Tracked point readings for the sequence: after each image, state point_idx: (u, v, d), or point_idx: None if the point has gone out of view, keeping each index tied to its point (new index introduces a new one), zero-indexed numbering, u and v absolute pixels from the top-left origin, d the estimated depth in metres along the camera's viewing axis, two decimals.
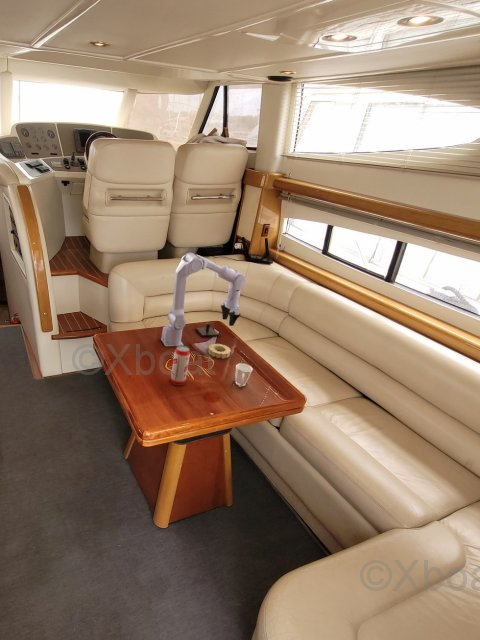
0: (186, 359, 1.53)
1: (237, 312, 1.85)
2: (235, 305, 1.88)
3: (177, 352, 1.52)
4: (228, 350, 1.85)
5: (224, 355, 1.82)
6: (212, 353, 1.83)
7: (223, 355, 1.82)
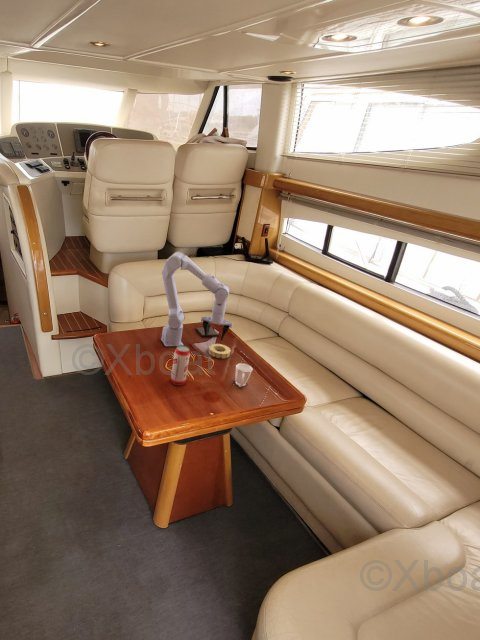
0: (186, 359, 1.53)
1: None
2: (223, 318, 1.79)
3: (177, 352, 1.52)
4: (228, 350, 1.85)
5: (224, 355, 1.82)
6: (212, 353, 1.83)
7: (223, 355, 1.82)
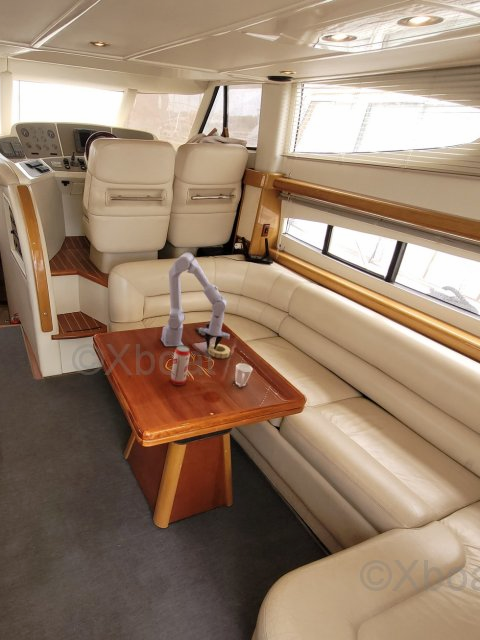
0: (186, 359, 1.53)
1: (229, 336, 1.81)
2: (220, 330, 1.82)
3: (177, 352, 1.52)
4: (228, 350, 1.85)
5: (224, 355, 1.82)
6: (212, 353, 1.83)
7: (223, 355, 1.82)
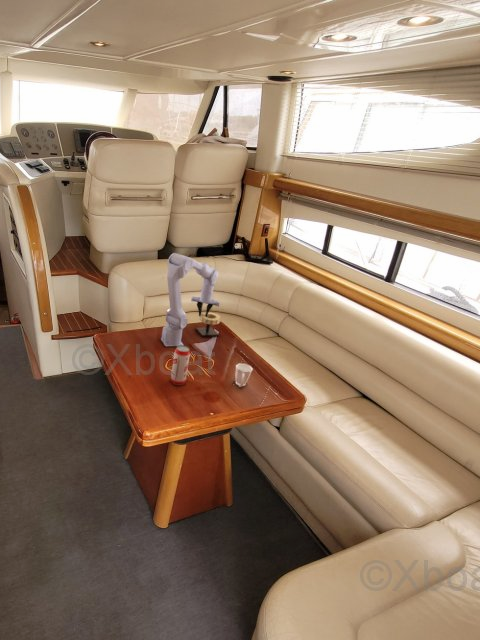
0: (186, 359, 1.53)
1: (219, 304, 1.95)
2: (211, 298, 1.96)
3: (177, 352, 1.52)
4: (218, 317, 1.99)
5: (214, 321, 1.96)
6: (203, 320, 1.97)
7: (213, 321, 1.96)
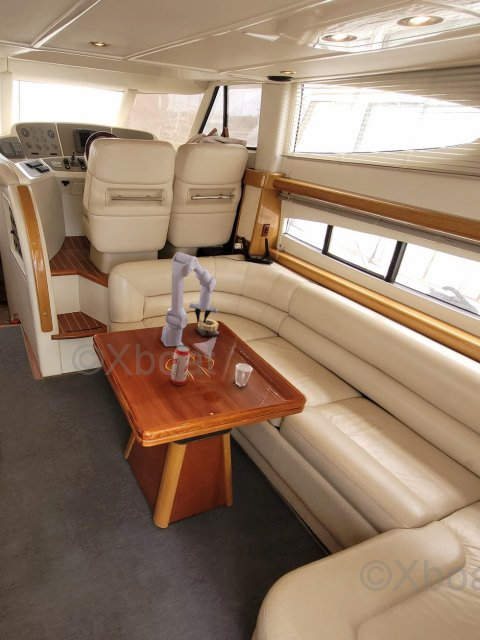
0: (186, 359, 1.53)
1: (217, 310, 1.98)
2: None
3: (177, 352, 1.52)
4: (216, 324, 2.02)
5: (212, 328, 1.99)
6: (201, 326, 2.01)
7: (211, 328, 1.99)
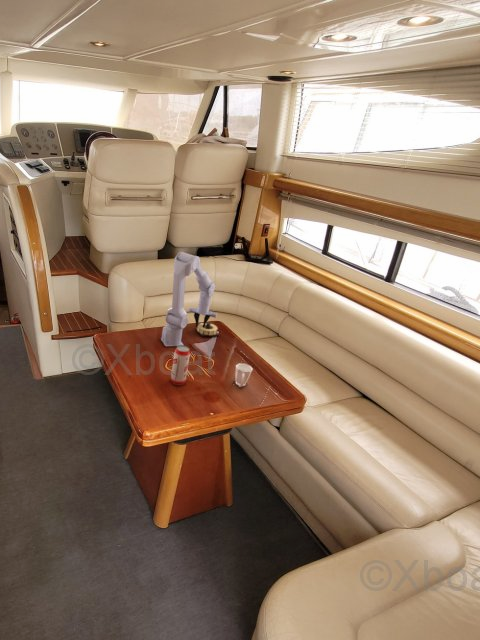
0: (186, 359, 1.53)
1: (216, 315, 2.00)
2: (208, 309, 2.01)
3: (177, 352, 1.52)
4: (215, 328, 2.04)
5: (211, 332, 2.00)
6: (200, 330, 2.02)
7: (210, 332, 2.00)
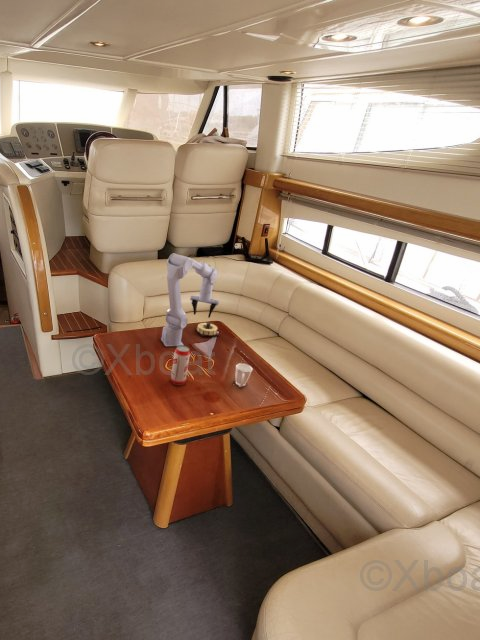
0: (186, 359, 1.53)
1: (218, 303, 1.95)
2: (210, 297, 1.96)
3: (177, 352, 1.52)
4: (215, 328, 2.04)
5: (211, 332, 2.00)
6: (200, 330, 2.02)
7: (210, 332, 2.00)
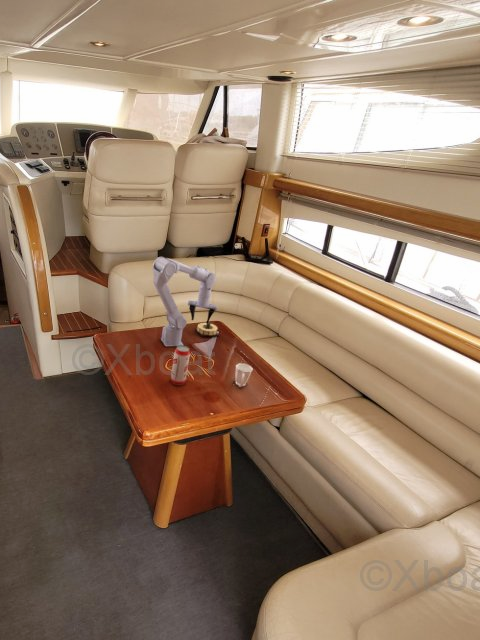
0: (186, 359, 1.53)
1: None
2: None
3: (177, 352, 1.52)
4: (215, 328, 2.04)
5: (211, 332, 2.00)
6: (200, 330, 2.02)
7: (210, 332, 2.00)
